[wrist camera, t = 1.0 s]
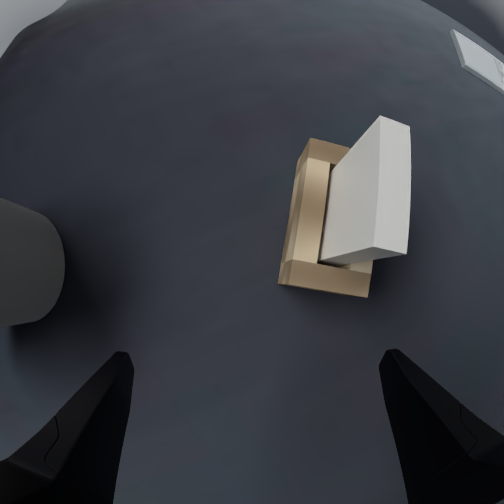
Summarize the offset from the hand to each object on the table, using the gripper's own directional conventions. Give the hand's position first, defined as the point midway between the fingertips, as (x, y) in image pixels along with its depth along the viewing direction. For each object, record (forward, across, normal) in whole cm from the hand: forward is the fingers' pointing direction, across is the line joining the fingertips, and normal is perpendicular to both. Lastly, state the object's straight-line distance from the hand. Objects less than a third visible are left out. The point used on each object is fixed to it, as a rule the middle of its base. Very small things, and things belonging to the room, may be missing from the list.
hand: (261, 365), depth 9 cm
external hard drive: (+30, -35, -19) cm, 50 cm away
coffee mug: (+11, +21, +6) cm, 25 cm away
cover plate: (+14, -6, +1) cm, 15 cm away
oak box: (+14, -6, +2) cm, 15 cm away
